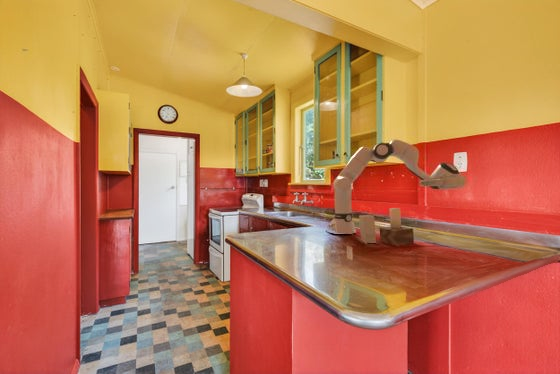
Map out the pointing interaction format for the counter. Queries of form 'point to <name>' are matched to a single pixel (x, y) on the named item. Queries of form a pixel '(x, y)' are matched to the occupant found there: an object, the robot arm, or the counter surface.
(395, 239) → the walnut base
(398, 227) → the cream canister
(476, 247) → the counter surface
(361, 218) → the skincare box
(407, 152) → the robot arm
